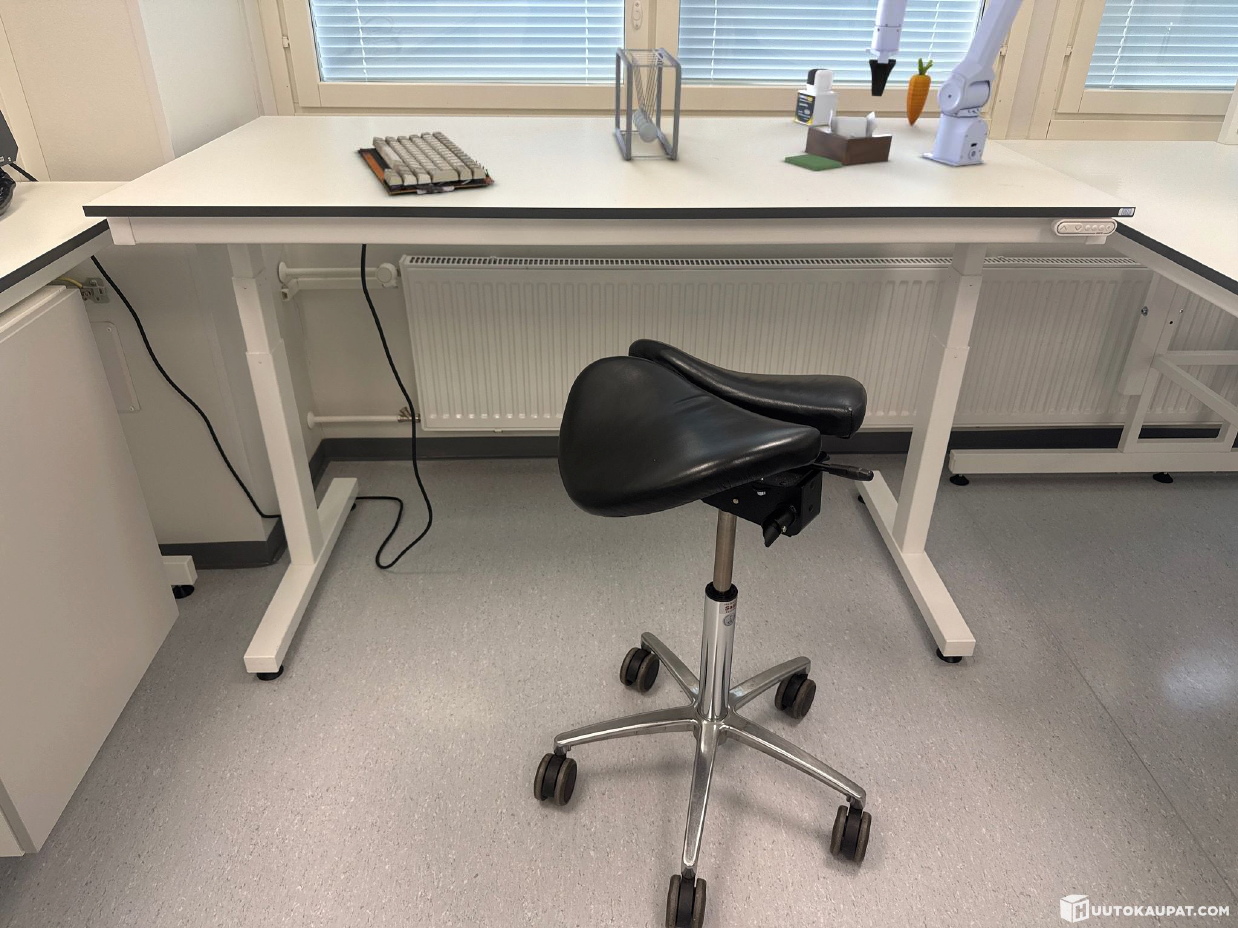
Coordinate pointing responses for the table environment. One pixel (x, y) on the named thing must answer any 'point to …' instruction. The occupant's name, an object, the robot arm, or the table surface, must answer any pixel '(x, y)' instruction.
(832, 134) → the corner fence
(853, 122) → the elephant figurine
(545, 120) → the table surface
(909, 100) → the carrot
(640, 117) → the newton's cradle
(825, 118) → the medicine bottle
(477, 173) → the mechanical keyboard
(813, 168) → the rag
